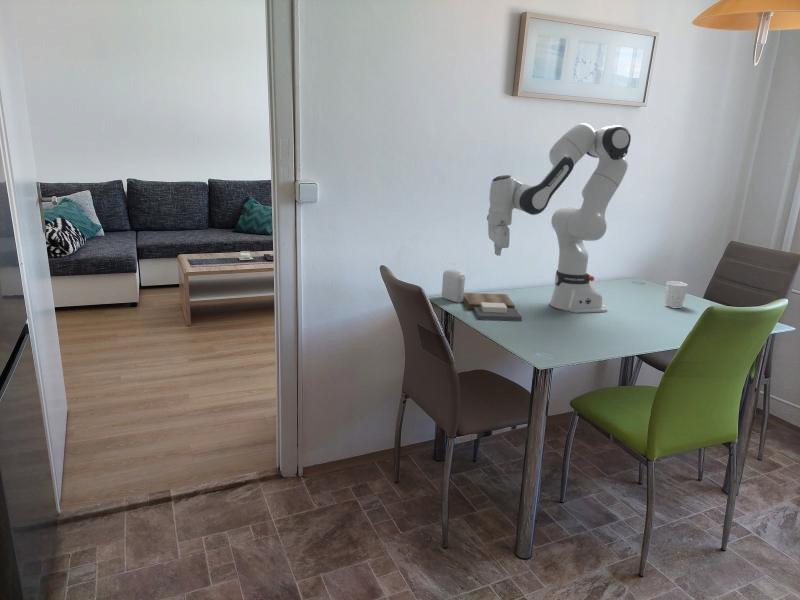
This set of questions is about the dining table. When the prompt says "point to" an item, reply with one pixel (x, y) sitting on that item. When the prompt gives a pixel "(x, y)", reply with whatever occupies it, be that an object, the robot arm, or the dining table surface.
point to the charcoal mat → (498, 314)
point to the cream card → (493, 307)
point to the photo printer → (453, 285)
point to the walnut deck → (486, 299)
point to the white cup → (675, 293)
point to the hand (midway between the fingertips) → (497, 254)
